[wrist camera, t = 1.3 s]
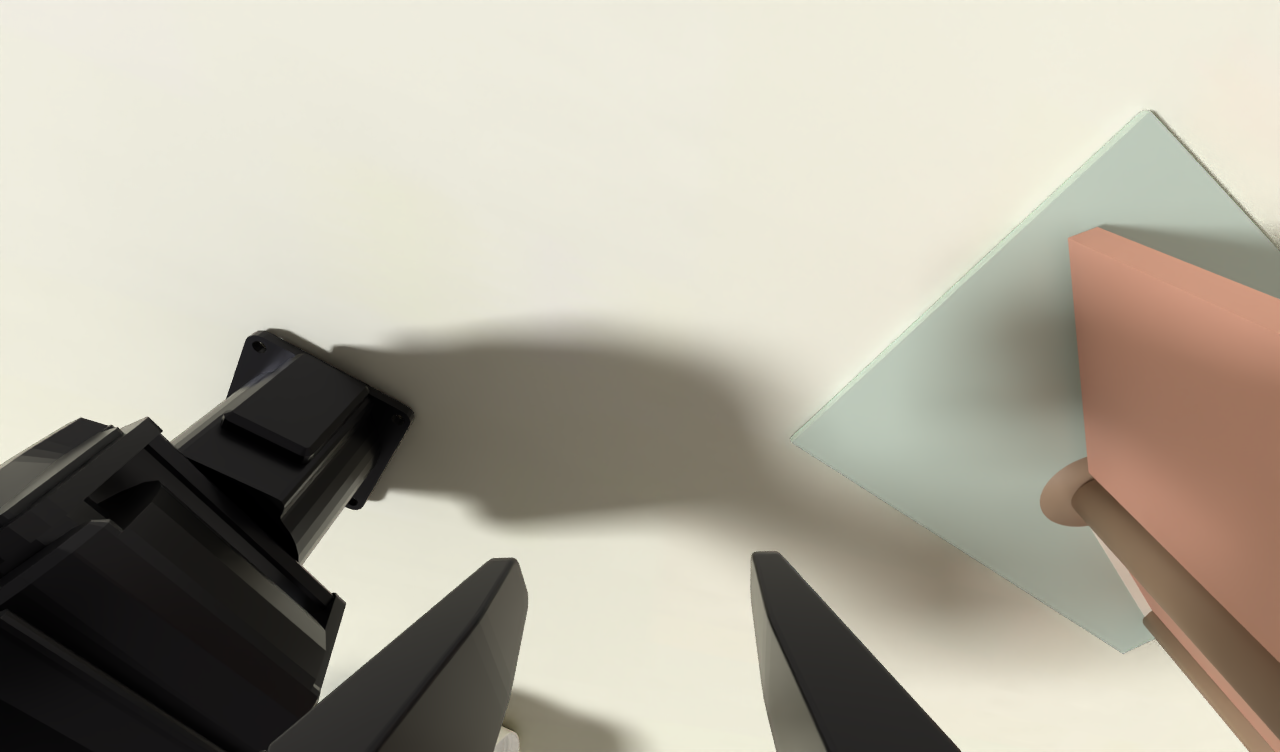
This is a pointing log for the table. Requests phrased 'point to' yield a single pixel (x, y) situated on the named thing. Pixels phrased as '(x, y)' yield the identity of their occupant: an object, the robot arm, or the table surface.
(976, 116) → the table surface
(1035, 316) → the mat
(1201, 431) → the swing panel
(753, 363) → the table surface
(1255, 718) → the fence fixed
